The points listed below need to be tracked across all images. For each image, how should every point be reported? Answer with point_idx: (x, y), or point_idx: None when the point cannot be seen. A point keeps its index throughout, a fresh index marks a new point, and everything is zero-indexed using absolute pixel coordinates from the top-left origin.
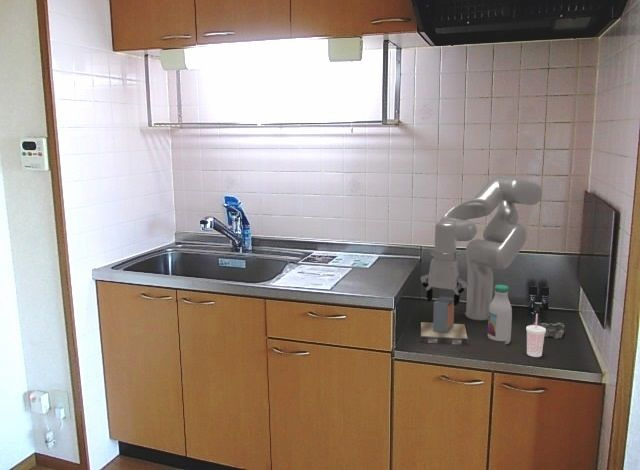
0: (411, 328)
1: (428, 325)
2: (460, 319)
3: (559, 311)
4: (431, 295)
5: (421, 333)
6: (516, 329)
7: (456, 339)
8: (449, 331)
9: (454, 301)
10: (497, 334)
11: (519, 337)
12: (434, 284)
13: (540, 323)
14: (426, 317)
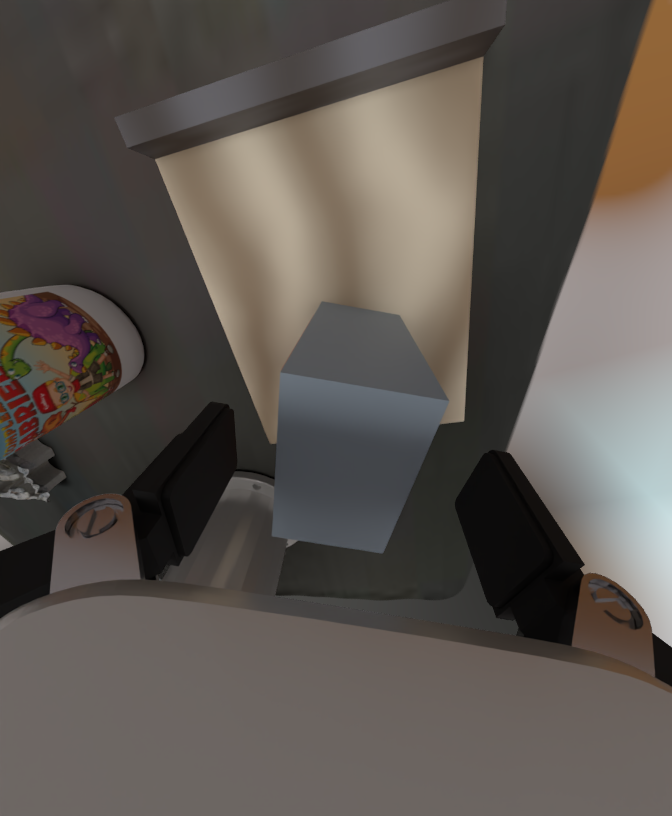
0: (507, 370)
1: None
2: None
3: None
4: (481, 526)
5: (469, 253)
6: (109, 463)
7: (202, 91)
8: None
9: (203, 427)
10: (21, 291)
11: None
12: (610, 763)
13: (35, 498)
14: (432, 494)
